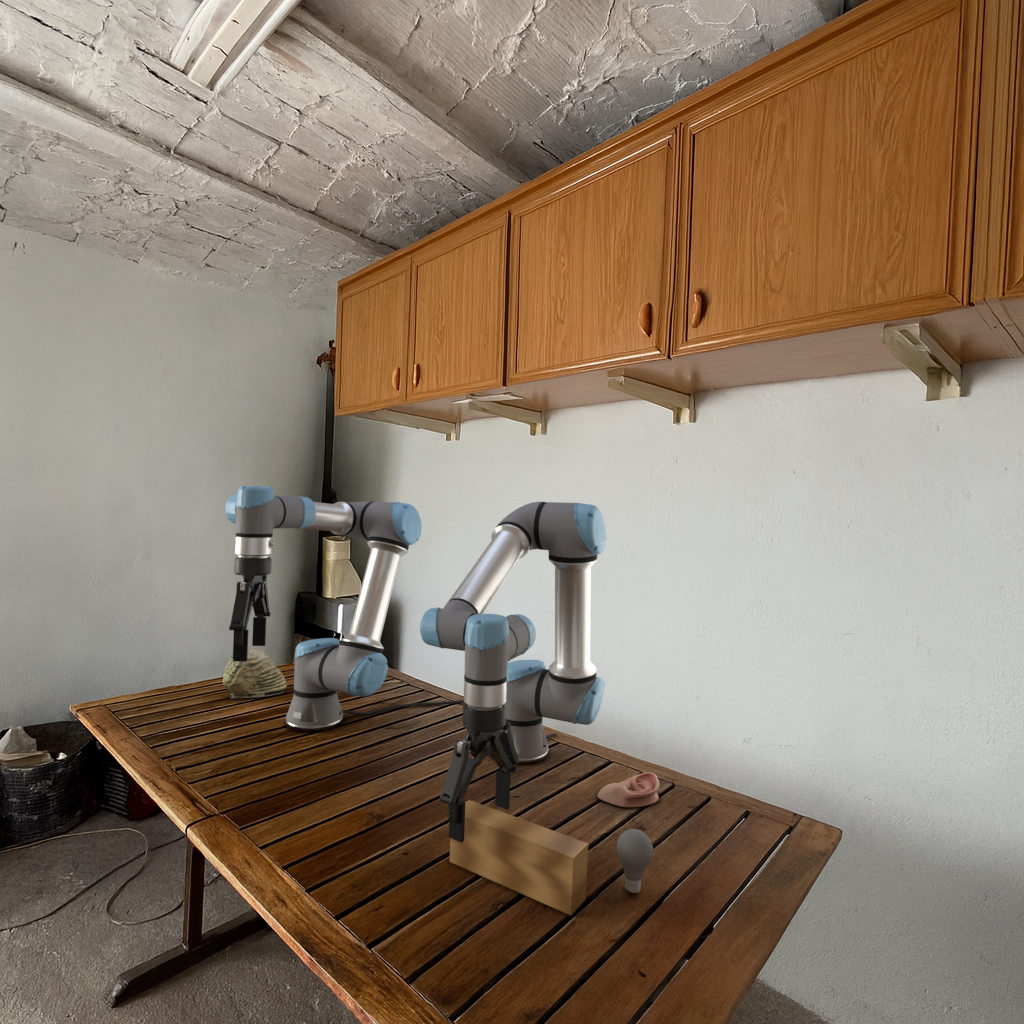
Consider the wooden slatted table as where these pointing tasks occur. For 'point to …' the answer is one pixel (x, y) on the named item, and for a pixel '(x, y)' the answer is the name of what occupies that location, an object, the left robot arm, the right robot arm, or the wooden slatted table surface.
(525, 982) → the wooden slatted table surface
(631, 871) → the light bulb
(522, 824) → the bar
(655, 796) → the anatomical model
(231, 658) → the fossil
